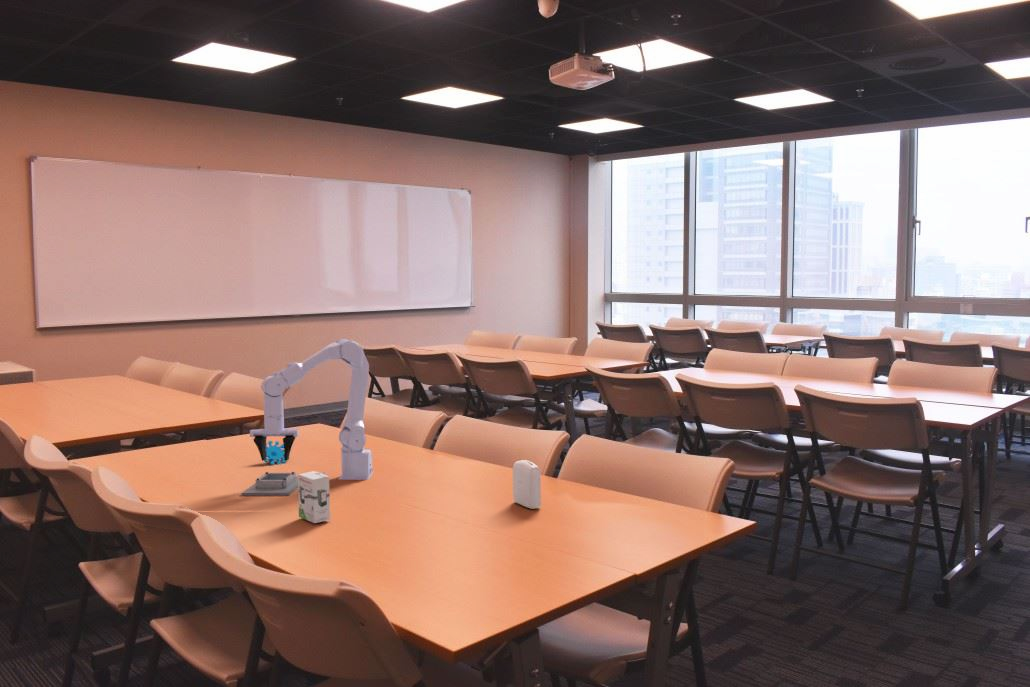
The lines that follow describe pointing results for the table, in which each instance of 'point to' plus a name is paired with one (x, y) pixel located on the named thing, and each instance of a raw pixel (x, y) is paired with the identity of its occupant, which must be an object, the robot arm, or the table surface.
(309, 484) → the ink box
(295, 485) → the tray
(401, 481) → the table surface
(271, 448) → the blue spiky round piece
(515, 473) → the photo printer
